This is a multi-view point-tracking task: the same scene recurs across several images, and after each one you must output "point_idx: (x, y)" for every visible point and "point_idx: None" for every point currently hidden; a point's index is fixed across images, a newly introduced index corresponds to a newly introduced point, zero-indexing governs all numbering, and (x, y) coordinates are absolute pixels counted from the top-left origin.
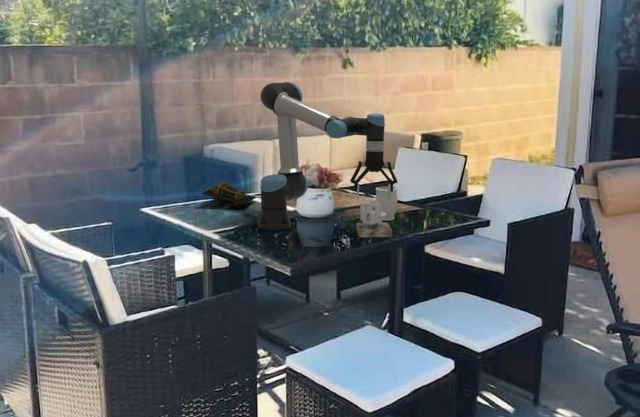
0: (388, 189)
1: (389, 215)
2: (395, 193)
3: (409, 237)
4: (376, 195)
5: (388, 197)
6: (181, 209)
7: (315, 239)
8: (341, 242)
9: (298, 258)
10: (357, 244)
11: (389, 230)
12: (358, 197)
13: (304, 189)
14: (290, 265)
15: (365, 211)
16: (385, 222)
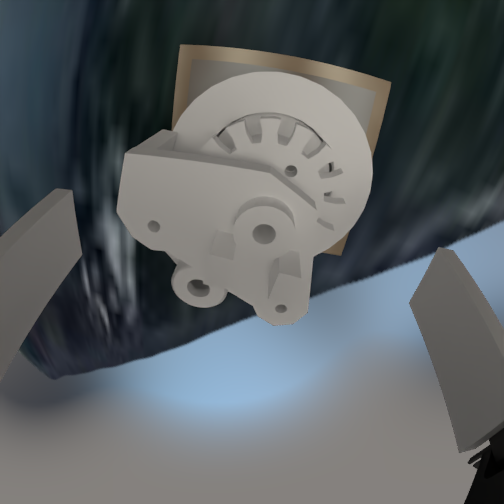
0: (460, 374)
1: None
2: None
3: (401, 259)
4: None
5: (417, 316)
6: None
7: (24, 208)
8: (105, 264)
9: (40, 348)
10: (161, 300)
11: (327, 252)
12: (67, 266)
13: None
14: (44, 371)
15: (175, 262)
16: (374, 91)
